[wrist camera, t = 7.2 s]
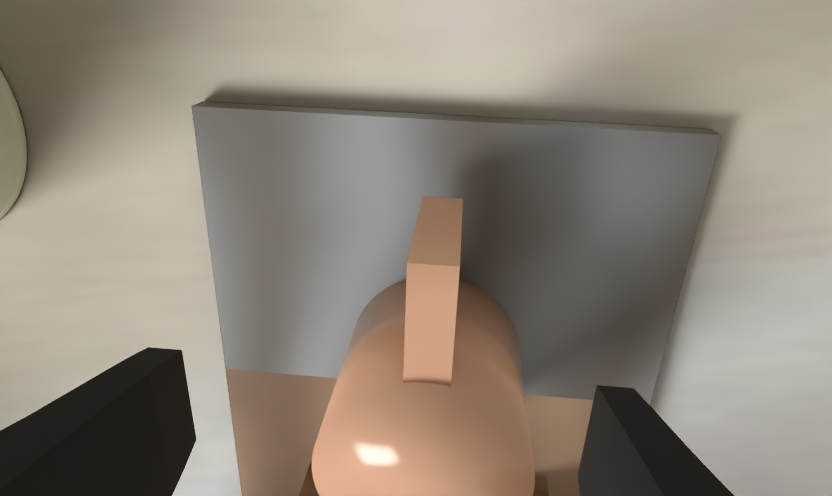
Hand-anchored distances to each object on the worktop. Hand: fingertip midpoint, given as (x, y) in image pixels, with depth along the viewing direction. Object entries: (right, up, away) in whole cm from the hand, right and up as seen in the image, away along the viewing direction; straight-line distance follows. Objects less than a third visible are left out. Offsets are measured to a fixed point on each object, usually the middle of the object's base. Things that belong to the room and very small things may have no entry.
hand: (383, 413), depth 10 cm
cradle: (+1, -2, +12) cm, 12 cm away
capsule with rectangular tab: (+1, +1, +10) cm, 10 cm away
